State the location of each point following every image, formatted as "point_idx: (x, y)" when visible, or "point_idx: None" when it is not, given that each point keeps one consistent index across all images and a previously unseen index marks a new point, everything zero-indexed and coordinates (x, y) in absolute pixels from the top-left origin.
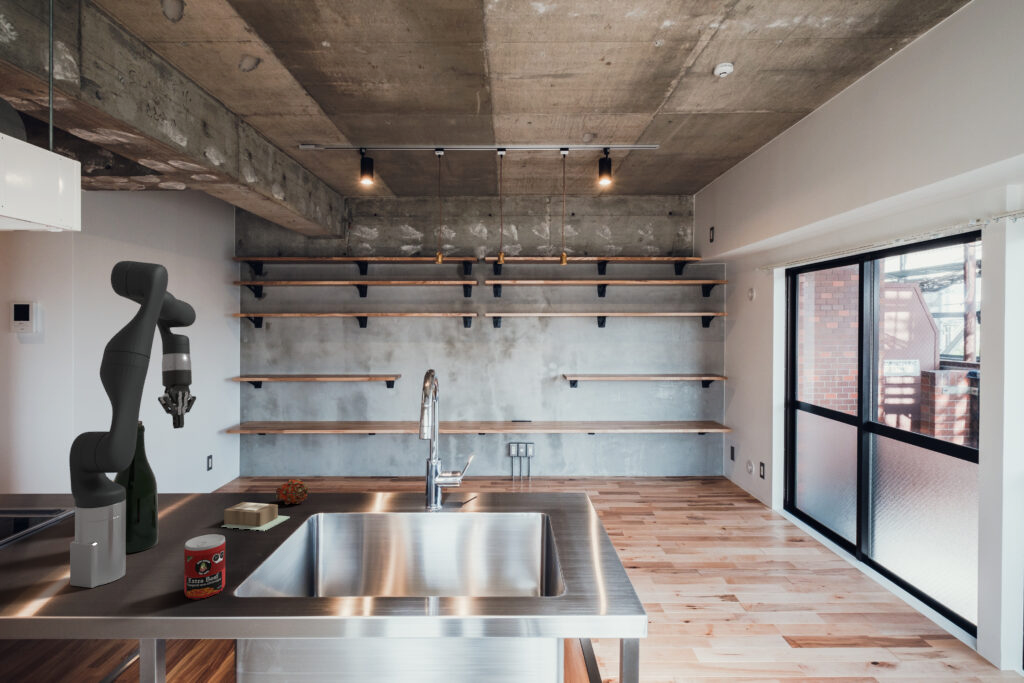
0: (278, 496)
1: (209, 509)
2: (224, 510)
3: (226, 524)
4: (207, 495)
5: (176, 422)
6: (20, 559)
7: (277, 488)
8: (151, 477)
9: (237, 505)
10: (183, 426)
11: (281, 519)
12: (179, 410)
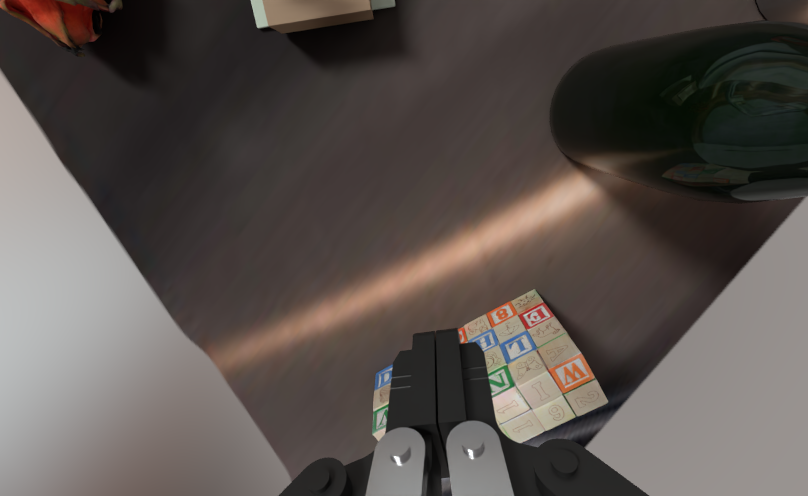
0: (108, 6)
1: (285, 207)
2: (370, 8)
3: (376, 2)
4: (198, 328)
5: (487, 371)
6: (708, 283)
7: (71, 40)
8: (767, 31)
9: (308, 8)
10: (415, 335)
11: None
12: (479, 476)
